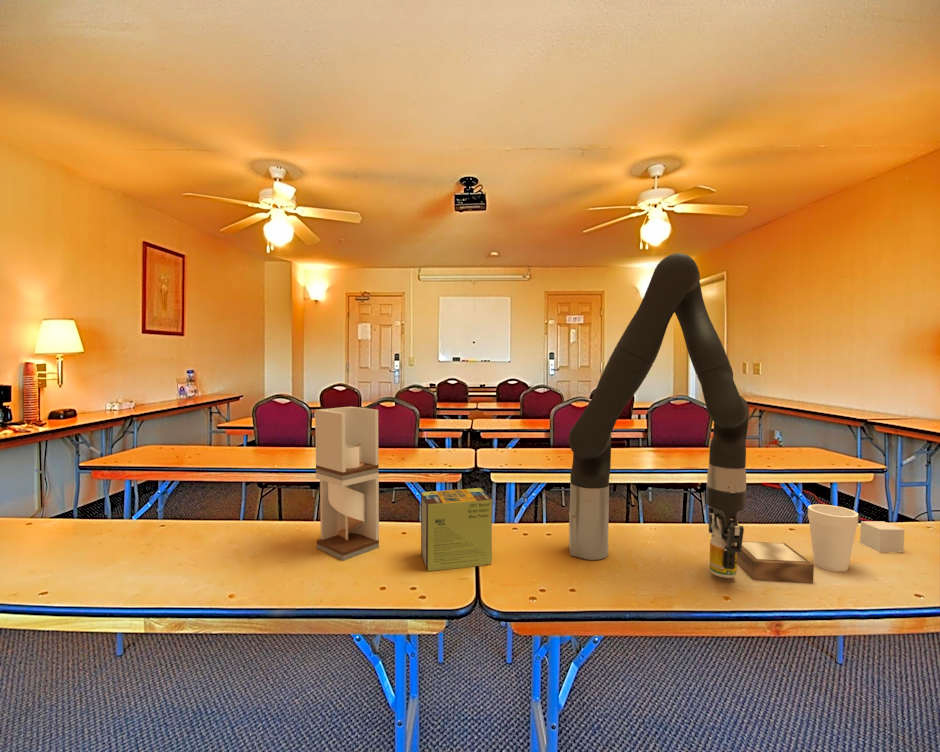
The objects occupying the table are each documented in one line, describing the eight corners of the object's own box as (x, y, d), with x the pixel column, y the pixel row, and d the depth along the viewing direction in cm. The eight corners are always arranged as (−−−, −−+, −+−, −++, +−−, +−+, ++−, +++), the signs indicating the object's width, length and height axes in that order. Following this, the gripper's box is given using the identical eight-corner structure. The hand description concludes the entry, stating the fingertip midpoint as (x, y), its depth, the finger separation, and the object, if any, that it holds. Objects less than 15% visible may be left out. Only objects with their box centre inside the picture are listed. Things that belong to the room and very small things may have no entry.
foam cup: (850, 561, 116) (852, 507, 115) (862, 577, 107) (864, 519, 107) (802, 554, 120) (804, 502, 119) (810, 569, 111) (812, 513, 111)
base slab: (753, 579, 106) (754, 560, 106) (731, 557, 118) (731, 539, 118) (813, 583, 105) (813, 563, 105) (784, 559, 117) (785, 542, 117)
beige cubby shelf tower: (316, 548, 123) (315, 409, 122) (352, 536, 131) (351, 406, 130) (343, 560, 116) (341, 413, 114) (378, 547, 124) (378, 409, 122)
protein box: (492, 565, 114) (493, 499, 113) (427, 572, 110) (427, 504, 109) (480, 547, 124) (480, 487, 123) (420, 553, 120) (420, 491, 119)
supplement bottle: (717, 565, 111) (719, 524, 110) (741, 574, 106) (743, 531, 106) (704, 571, 108) (705, 528, 107) (728, 580, 103) (729, 536, 103)
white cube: (879, 553, 121) (880, 529, 121) (860, 544, 127) (860, 521, 127) (903, 553, 121) (904, 529, 121) (883, 544, 127) (883, 521, 127)
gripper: (697, 476, 114) (694, 548, 115) (720, 494, 100) (717, 575, 100) (731, 478, 113) (728, 550, 114) (759, 496, 99) (756, 578, 99)
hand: (723, 561), depth 107 cm, fingers closed on supplement bottle, 5 cm apart
